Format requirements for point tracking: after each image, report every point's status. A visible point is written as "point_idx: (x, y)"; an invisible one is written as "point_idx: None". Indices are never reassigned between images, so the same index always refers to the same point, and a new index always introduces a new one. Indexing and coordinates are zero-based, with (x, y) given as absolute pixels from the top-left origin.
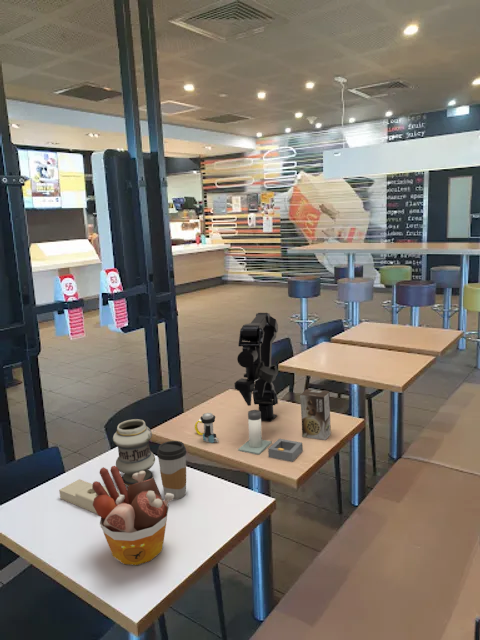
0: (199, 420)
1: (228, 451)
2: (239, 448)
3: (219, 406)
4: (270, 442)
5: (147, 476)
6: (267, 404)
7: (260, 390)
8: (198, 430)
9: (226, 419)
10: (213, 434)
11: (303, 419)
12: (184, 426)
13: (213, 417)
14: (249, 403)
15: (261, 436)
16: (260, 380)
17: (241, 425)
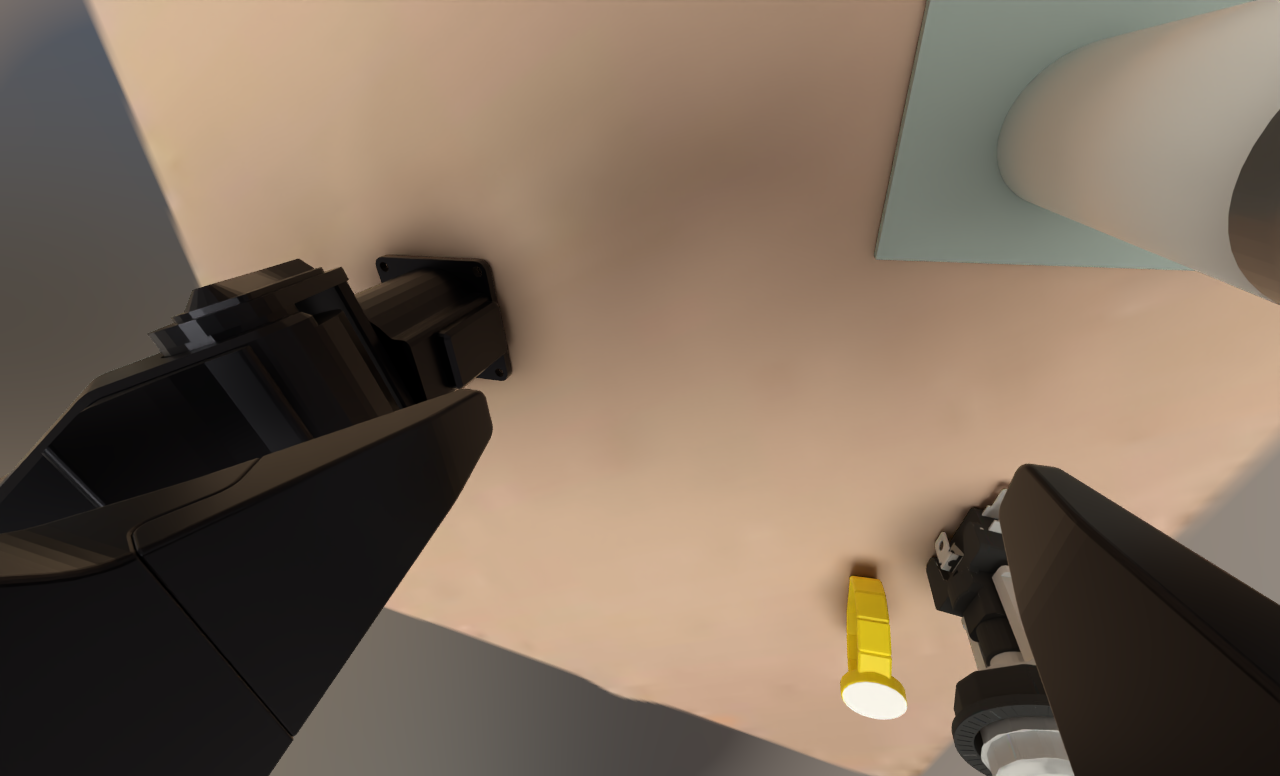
0: (894, 714)
1: (1228, 352)
2: None
3: (479, 593)
4: None
5: None
6: (377, 341)
7: (389, 503)
8: (850, 634)
9: (598, 531)
10: (997, 561)
11: None
12: (775, 684)
13: (1050, 716)
14: (1109, 524)
15: (1156, 26)
16: (64, 769)
17: (638, 429)
